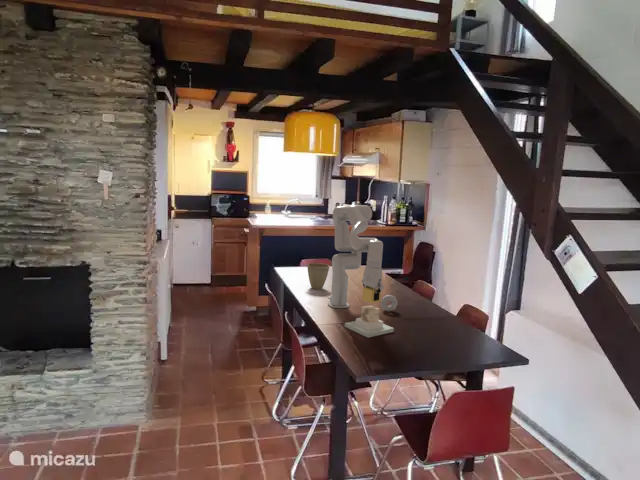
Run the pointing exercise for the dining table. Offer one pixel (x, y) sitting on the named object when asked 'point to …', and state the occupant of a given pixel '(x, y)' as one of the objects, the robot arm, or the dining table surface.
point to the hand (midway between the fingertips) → (371, 298)
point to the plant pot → (317, 274)
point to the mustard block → (370, 294)
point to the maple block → (370, 313)
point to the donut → (384, 301)
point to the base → (369, 332)
